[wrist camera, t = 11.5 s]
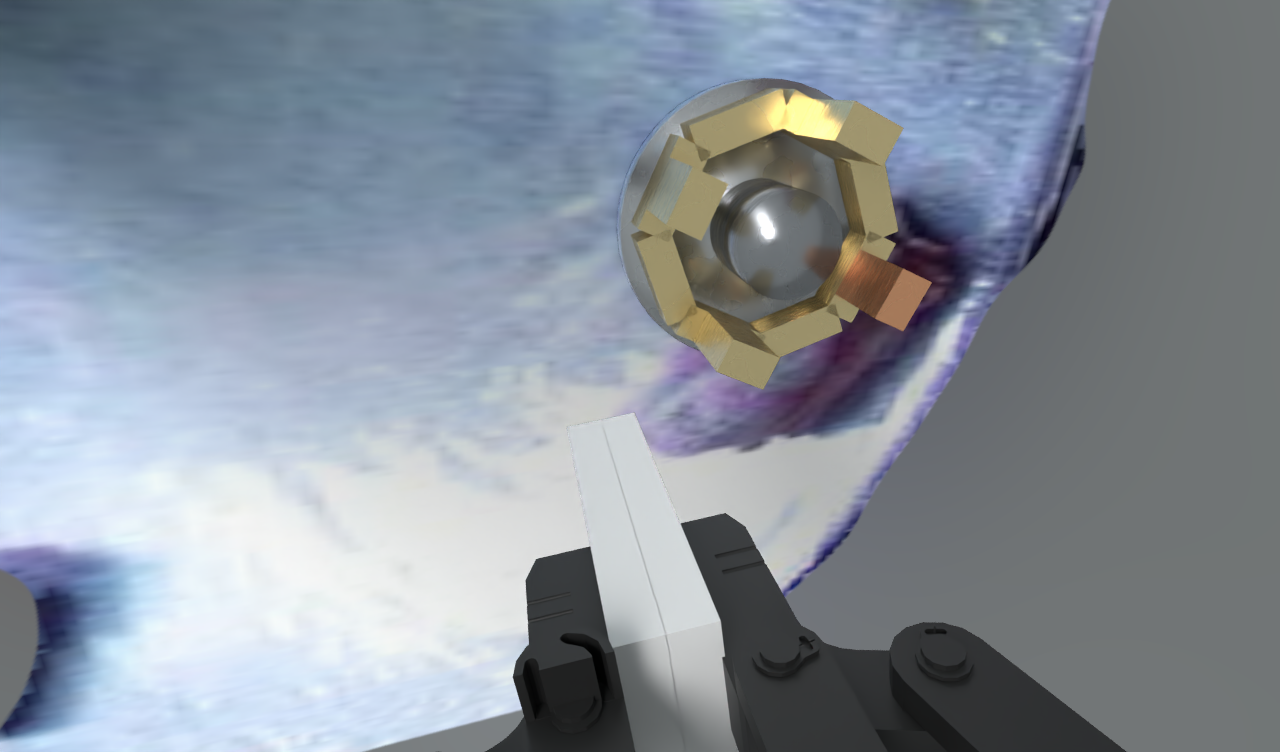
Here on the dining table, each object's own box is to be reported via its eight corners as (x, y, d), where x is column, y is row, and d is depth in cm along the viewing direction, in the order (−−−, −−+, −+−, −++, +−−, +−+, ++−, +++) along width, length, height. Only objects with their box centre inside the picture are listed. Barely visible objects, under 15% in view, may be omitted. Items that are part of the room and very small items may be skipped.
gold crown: (598, 295, 43) (616, 333, 36) (707, 49, 38) (750, 41, 32) (801, 376, 47) (849, 422, 41) (917, 164, 43) (992, 178, 37)
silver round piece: (595, 102, 40) (613, 106, 34) (873, 58, 42) (939, 53, 36) (637, 372, 47) (659, 416, 41) (875, 323, 49) (931, 358, 43)
